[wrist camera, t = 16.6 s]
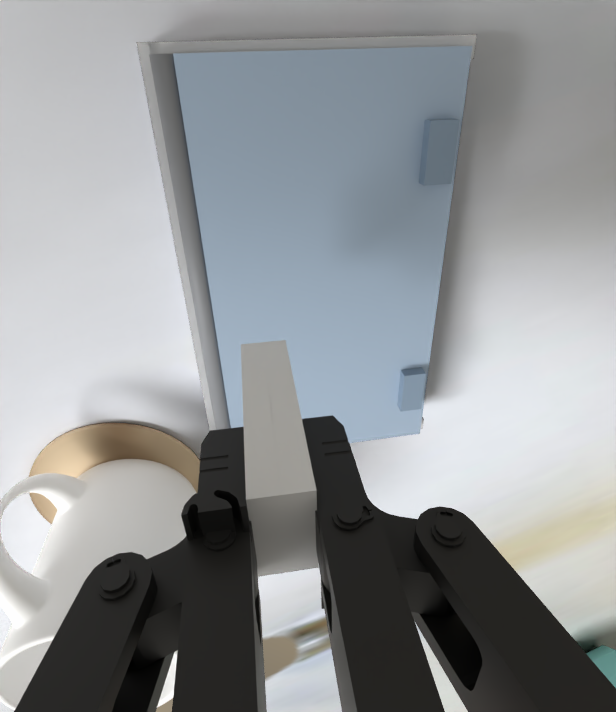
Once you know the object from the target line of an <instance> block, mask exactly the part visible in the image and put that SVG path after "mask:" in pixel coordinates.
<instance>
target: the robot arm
mask: <svg viewBox="0 0 616 712" xmlns="http://www.w3.org/2000/svg"><path fill="white" fill-rule="evenodd" d="M241 367H242V397H243V426H244V427H237V428H228V429H220V430H211V431H209V433H208V435H207V436H206V438H205V439H204V441H203V443H202V444H201V457H200V460H201V461H200V469H199V471H200V473H199V481H198V493H196V494H194V495H193V496H192V497H191V498H190V499H189V500H188V501H187V502H186V504H185V505H184V508H183V510H182V513H181V517H182V521H183V525H184V528H185V532H186V537H185V538H184V539H183V540H182V541H181V542H180V543H178V544H177V545H176V546H174V547H172V548H170V549H169V550H167V551H164V552H162V553H160V554H158V555H155V556H153V557H151V558H148V559H146V558H145V557H144V556H143V555H140V554H137V553H133V552H127V553H119V554H116V555H114V556H111V557H109V558H107V559H105V560H104V561H103V562H101V563H100V564H99V565H97V566H96V567H95V568H94V569H93V570H92V572H91V573H90V574H89V576H88V577H87V578H86V580H85V581H84V583H83V585H82V587H81V589H80V591H79V592H78V594H77V596H76V598H75V600H74V602H73V604H72V605H71V607H70V609H69V611H68V613H67V615H66V616H65V618H64V620H63V622H62V624H61V626H60V628H59V629H58V631H57V633H56V635H55V637H54V639H53V641H52V642H51V644H50V646H49V648H48V650H47V652H46V653H45V655H44V657H43V659H42V661H41V663H40V665H39V666H38V668H37V670H36V672H35V674H34V676H33V678H32V679H31V681H30V683H29V685H28V687H27V689H26V690H25V692H24V694H23V696H22V698H21V700H20V702H19V703H18V705H17V707H16V709H15V711H14V712H155V711H156V709H157V706H158V702H159V699H160V696H161V693H162V690H163V687H164V684H165V680H166V677H167V674H168V671H169V668H170V665H171V662H172V658H173V655H174V652H175V651H177V650H178V652H177V663H176V674H175V684H174V695H173V706H172V712H267V711H266V693H265V676H264V658H263V641H262V624H261V606H260V596H259V589H258V576H265V575H271V574H278V573H285V572H291V571H298V570H304V569H311V568H318V567H319V568H320V574H321V596H322V609H323V608H324V609H325V614H326V620H327V626H328V632H329V638H330V643H331V649H332V655H333V661H334V666H335V672H336V678H337V684H338V690H339V695H340V701H341V707H342V712H445V711H444V708H443V705H442V702H441V699H440V696H439V693H438V690H437V687H436V684H435V681H434V678H433V675H432V672H431V669H430V666H429V663H428V660H427V657H426V654H425V651H424V649H423V646H422V643H421V640H420V637H419V634H418V631H417V628H416V625H415V622H416V624H417V626H418V627H419V629H420V631H421V633H422V634H423V636H424V638H425V639H426V641H427V643H428V644H429V646H430V648H431V649H432V651H433V653H434V655H435V656H436V658H437V660H438V661H439V663H440V665H441V666H442V668H443V670H444V671H445V673H446V675H447V677H448V678H449V680H450V682H451V683H452V685H453V687H454V688H455V690H456V692H457V694H458V695H459V697H460V699H461V700H462V702H463V704H464V705H465V707H466V709H467V710H468V712H616V688H615V687H614V686H613V684H612V683H611V682H610V681H609V680H608V679H607V677H606V676H605V675H604V674H603V673H602V672H601V670H600V669H599V668H598V667H597V666H596V665H595V663H594V662H593V661H592V660H591V659H590V658H589V656H588V655H587V654H586V653H585V652H584V651H583V649H582V648H581V647H580V646H579V645H578V644H577V642H576V641H575V640H574V639H573V638H572V637H571V635H570V634H569V633H568V632H567V631H566V630H565V628H564V627H563V626H562V625H561V624H560V623H559V621H558V620H557V619H556V618H555V617H554V616H553V614H552V613H551V612H550V611H549V610H548V609H547V607H546V606H545V605H544V604H543V603H542V602H541V600H540V599H539V598H538V597H537V596H536V595H535V594H534V592H533V591H532V590H531V589H530V588H529V587H528V585H527V584H526V583H525V582H524V581H523V580H522V578H521V577H520V576H519V575H518V574H517V573H516V571H515V570H514V569H513V568H512V567H511V566H510V564H509V563H508V562H507V561H506V560H505V559H504V557H503V556H502V555H501V554H500V553H499V552H498V550H497V549H496V548H495V547H494V546H493V545H492V543H491V542H490V541H489V540H488V539H487V538H486V536H485V535H484V534H483V533H482V532H481V531H480V529H479V528H478V527H477V526H476V525H475V524H474V522H473V521H472V520H470V519H469V518H468V517H467V516H466V515H465V514H463V513H461V512H459V511H457V510H454V509H452V508H446V507H435V508H430V509H428V510H426V511H425V512H423V513H422V514H421V515H420V517H419V518H418V519H412V518H405V517H399V516H394V515H390V514H388V513H385V512H383V511H381V510H380V509H378V508H377V507H376V506H374V505H373V504H372V503H371V501H370V500H369V499H368V497H367V495H366V493H365V490H364V487H363V484H362V481H361V478H360V475H359V472H358V469H357V466H356V462H355V459H354V456H353V453H352V450H351V447H350V444H349V442H348V438H347V435H346V432H345V429H344V426H343V425H342V424H341V423H340V422H339V421H338V420H337V419H336V418H335V417H334V416H333V415H331V416H322V417H314V418H305V419H302V418H301V413H300V408H299V403H298V398H297V393H296V389H295V384H294V379H293V374H292V369H291V364H290V360H289V355H288V350H287V345H286V340H281V341H270V342H260V343H250V344H241ZM318 563H319V566H318ZM414 621H415V622H414Z"/></svg>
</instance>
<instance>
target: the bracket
mask: <svg viewBox="0 0 616 712" xmlns="http://www.w3.org/2000/svg"><path fill="white" fill-rule="evenodd" d="M476 37H477V34H470V35H428V36H386V37H343V38H301V39H259V40H216V41H174V42H136V43H137V48H138V53H139V58H140V64H141V69H142V74H143V80H144V85H145V90H146V96H147V101H148V106H149V112H150V117H151V122H152V128H153V133H154V138H155V143H156V149H157V154H158V159H159V165H160V170H161V175H162V181H163V186H164V191H165V197H166V202H167V207H168V212H169V218H170V223H171V228H172V234H173V239H174V244H175V250H176V255H177V260H178V266H179V271H180V276H181V281H182V287H183V292H184V297H185V303H186V308H187V313H188V319H189V324H190V329H191V335H192V340H193V345H194V350H195V356H196V361H197V366H198V372H199V377H200V382H201V388H202V393H203V398H204V404H205V409H206V414H207V420H208V425H209V430H210V431H211V430H216V427H215V422H214V416H213V410H212V405H211V399H210V394H209V388H208V382H207V377H206V371H205V365H204V360H203V354H202V349H201V343H200V337H199V332H198V326H197V321H196V315H195V309H194V304H193V298H192V293H191V287H190V281H189V276H188V270H187V265H186V259H185V253H184V248H183V242H182V237H181V231H180V225H179V220H178V214H177V208H176V203H175V197H174V192H173V186H172V180H171V175H170V169H169V164H168V158H167V152H166V147H165V141H164V136H163V130H162V124H161V119H160V113H159V108H158V102H157V96H156V91H155V85H154V79H153V74H152V68H151V63H150V57H149V54H173V53H212V52H251V51H290V50H329V49H369V48H408V47H447V46H472V52H471V59H474V52H475V44H476ZM423 420H424V419H423V417H422V421H421V428H420V429H422V427H423Z"/></svg>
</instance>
